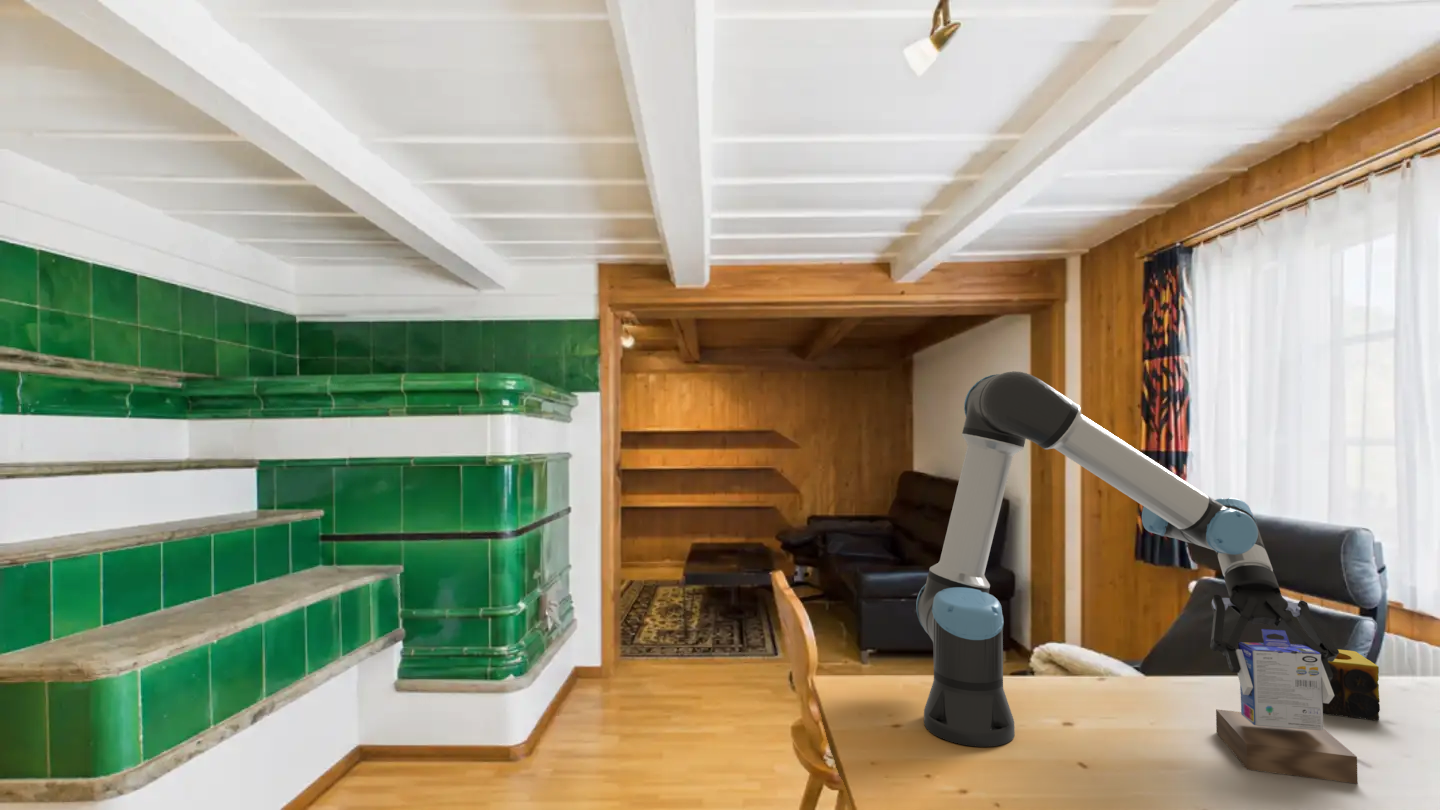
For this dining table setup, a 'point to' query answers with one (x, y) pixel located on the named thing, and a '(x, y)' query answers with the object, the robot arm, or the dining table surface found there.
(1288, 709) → the ink cartridge box
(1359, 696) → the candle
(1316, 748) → the walnut stand
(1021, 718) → the dining table surface
